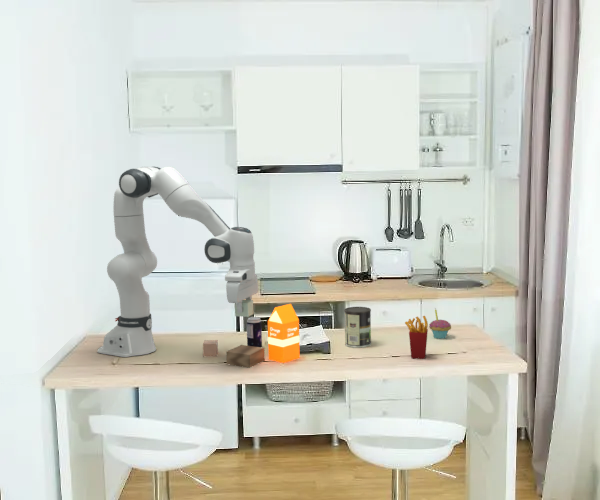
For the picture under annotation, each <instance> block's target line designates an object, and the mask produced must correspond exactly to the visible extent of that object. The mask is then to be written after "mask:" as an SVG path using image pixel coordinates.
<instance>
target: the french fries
mask: <svg viewBox="0 0 600 500" xmlns="http://www.w3.org/2000/svg"><path fill="white" fill-rule="evenodd" d="M422 318H423V321H424V322H422V319H421V318H420V317H419V316H416V317H415V318H414V317H413V318H412V319H411V318H409V319H408V321H405V322H404V324H405V325H406V326H407V328H408V330H409V332H408V337H409V338H408V339H409V346H410V348H409V349H410V358H411V359H416V360H419V359H420V360H425V359H426V355H427V353H426V352H427V344H428V343H427V342H428V331H429V330H428V329H429V328H428V326H429V324H428V319H427V317H426V316H425V315H423V316H422ZM414 322H415V323H414Z"/></svg>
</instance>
